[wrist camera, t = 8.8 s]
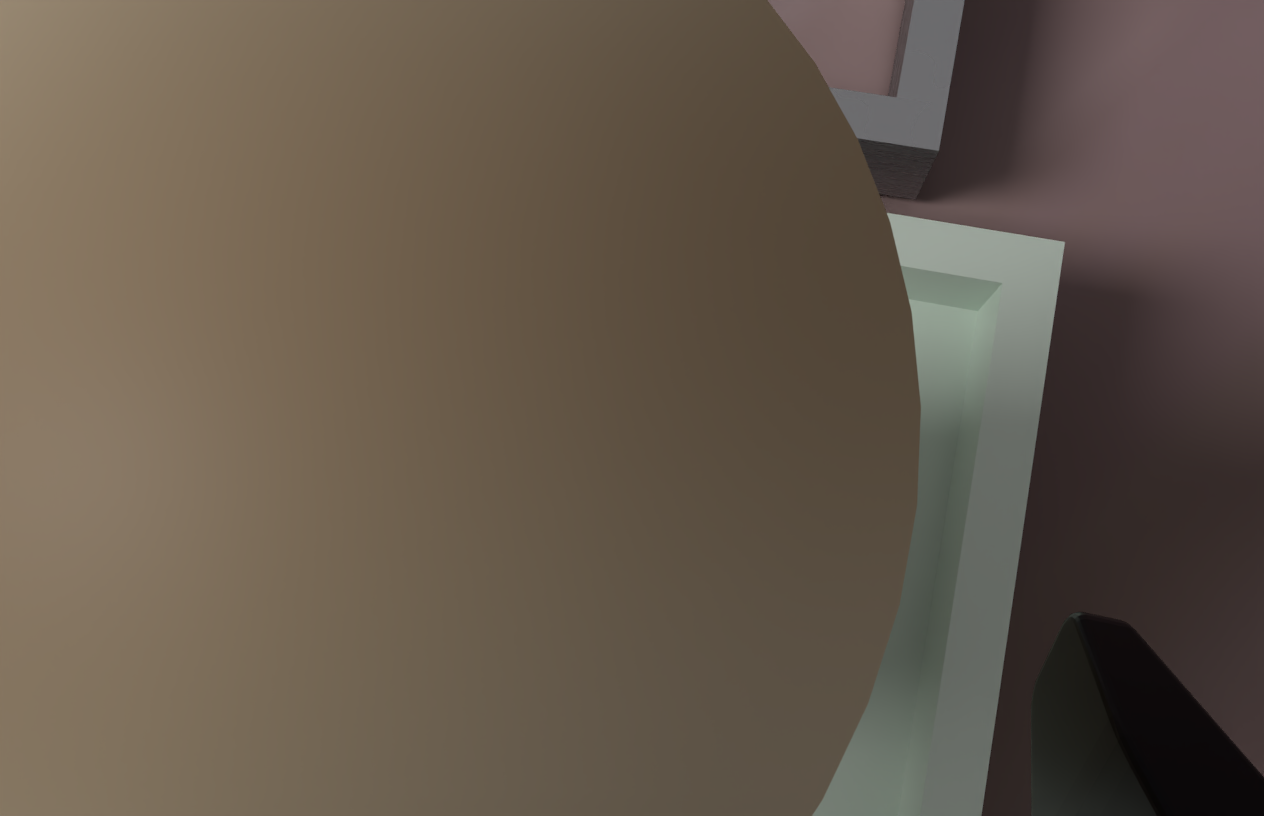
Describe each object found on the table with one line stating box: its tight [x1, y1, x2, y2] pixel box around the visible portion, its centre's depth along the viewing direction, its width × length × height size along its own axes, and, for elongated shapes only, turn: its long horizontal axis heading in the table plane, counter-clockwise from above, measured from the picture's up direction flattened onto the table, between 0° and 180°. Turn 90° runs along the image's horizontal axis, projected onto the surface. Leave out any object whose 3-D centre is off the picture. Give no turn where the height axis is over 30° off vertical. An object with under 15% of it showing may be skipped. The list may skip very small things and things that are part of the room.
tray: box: [812, 213, 1065, 816], centre depth 16 cm, size 12×12×2 cm
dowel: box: [0, 0, 921, 816], centre depth 10 cm, size 5×5×13 cm
